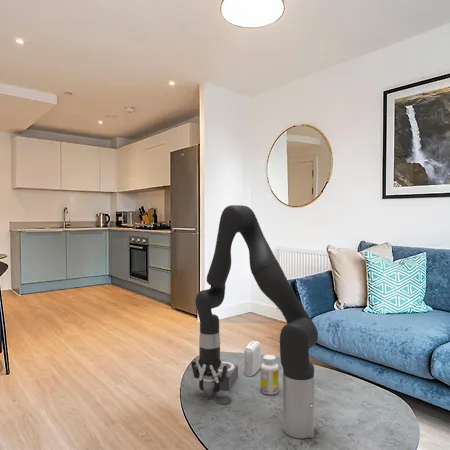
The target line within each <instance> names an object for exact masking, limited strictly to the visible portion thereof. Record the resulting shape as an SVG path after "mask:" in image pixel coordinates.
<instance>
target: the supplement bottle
mask: <svg viewBox="0 0 450 450" xmlns="http://www.w3.org/2000/svg"><path fill="white" fill-rule="evenodd" d="M262 361H263V362H261V367H260V391H261V392H262V394H264V395H268V396H269V395H277V394H278V393H279V390H280V389H279V388H280V387H279V386H280V385H279V383H280V382H279V381H280V380H279V379H280V378H279V377H280V376H279V373H280V372H279V365H278V363H277V362H276V361H277V358H276V356H275V355H273V354H265V355H263V357H262Z"/></svg>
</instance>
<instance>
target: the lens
mask: <svg viewBox="0 0 450 450" xmlns="http://www.w3.org/2000/svg"><path fill="white" fill-rule="evenodd" d="M215 383H216V381H215V378H214V377H213V374H212V373H204V375H203V391H202V398H203V397H204V399H205V398H207V399H206V400H214V399H216V398H217V397H216V396H217V394H218V393H215ZM215 397H216V398H215ZM213 398H214V399H213Z"/></svg>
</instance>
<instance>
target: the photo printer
mask: <svg viewBox="0 0 450 450" xmlns="http://www.w3.org/2000/svg"><path fill="white" fill-rule="evenodd" d="M261 347H262V346H261V343H260V342H259V341H257V340H253V341H251V342H249V343H248V344H247V345H246V347H245V349H244V354H243V355H244V356H243V358H244V360H243V361H244V362H243V365H244V367H243V368H244V371H243V373H244V375H245V377H246V376H247V377H253V376H255V375H256V373H258V372H259V371H260V370H261V364H262V361H261V359H262V357H261V356H262V355H261V354H262V353H261Z"/></svg>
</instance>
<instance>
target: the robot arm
mask: <svg viewBox="0 0 450 450" xmlns="http://www.w3.org/2000/svg"><path fill="white" fill-rule="evenodd" d="M238 233H239V234H240V236H242V239H243V240H244V242H245V243H246V246H247V248H248V254H249V255H248V256H249V257H248V258H249V267H250V273H251V274H252V276H253V278H254V280H255V282H256V284H257V286H258V287H259V290H260V291H261V292H262V293H263V294H264V295H265V296H266V297H267V298H268V299H269V300H270V301H271V302H272V303H273V304H274V305H276V306H277V308H278V309H279V311H280V312H281V314H282V315H283V317H284V320H285V322H286V324H285V325H284V326H283V327H282V328H281V330H280V334H279V355H280V364H281V366H282V367H281V368H282V387H283V388H282V408H283V409H282V417H283V418H282V431H283V432H284V433H285V434H286V435H287V436H289V437H292V438H294V439H299V440H301V439H302V440H303V439H309V438H311V439H313V438H314V435H315V427H316V426H315V424H316V421H315V420H316V417H315V415H316V414H315V413H316V412H315V411H316V405H315V404H316V401H315V400H316V396H315V367H314V364H313V363H312V362H310V355H309V352H310V349H312V347H314V346H316V344H317V343H318V339H319V332H318V329H317V327H316V325H315V323H314V322H313V320H312V318H311V317H310V315H309V314H308V312H307V310H306V309H305V308H304V306H303V305H302V303H301V302H300V301H299V299H298V297H297V296H296V294H295V293H296V292H295V291H294V289H293V287H292V286H291V284H290V281H289V280H288V278H287V277H286V275H285V272H284V270H283V269H282V268H283V267H281V265H280V263H279V262H278V260H277V258H276V256H275V254H274V252H273V250H272V249H271V246H270V245H269V242H267V239H266V238H265V235H264V232H263V231H262V228H261V226H260V223H259V220H258V218H257V215H256V214H255V213H254V211H253V210H252V209H251V208H250V207H249V206H247V205H237V204H236V205H235V204H230V205H228V206H226V207H224V209H223V210H222V212H221V215H220V218H219V224H218V230H217V236H216V241H215V248H214V253H213V257H212V260H211V262H210V263H211V264H210V267H209V269H208V271H207V276H206V283H207V284H208V285H209V286H210V287H209V288H207V289H202V290H200V291H199V292H197V294H196V297H195V300H194V301H195V308H196V311H197V316H198V319H199V339H198V341H199V342H198V343H199V345H198V348H199V349H198V351H199V352H198V353H199V359H194V360H193V361H191V362H190V363H191V369H192V374H193V377H194V378H195V379H197V380H198V388H199V389H200V391H202V392H203V375H204V373H212V374H213V377H214V378H215V381H216V383H215V393H217V394H218V393H219V392H220V391H221V389H220V382H223V381H224V380H225V378H226V374H227V370H228V366H229V365H228V364H223V363H221V362H222V361H221V334H220V318H219V316H218V315H216V314H213V312H212V309H216V308H219V307H220V306H221V305H222V304H223V301H224V299H225V295H226V282H227V279H228V277H229V274H230V272H231V269H232V244H233V241H234V239H235V236H236V235H237V234H238ZM220 366H221V369H222V370H223V371H222V375H221V377H220V374H219V369H218V368H219V367H220ZM199 367H200V368H201V370H199Z"/></svg>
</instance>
